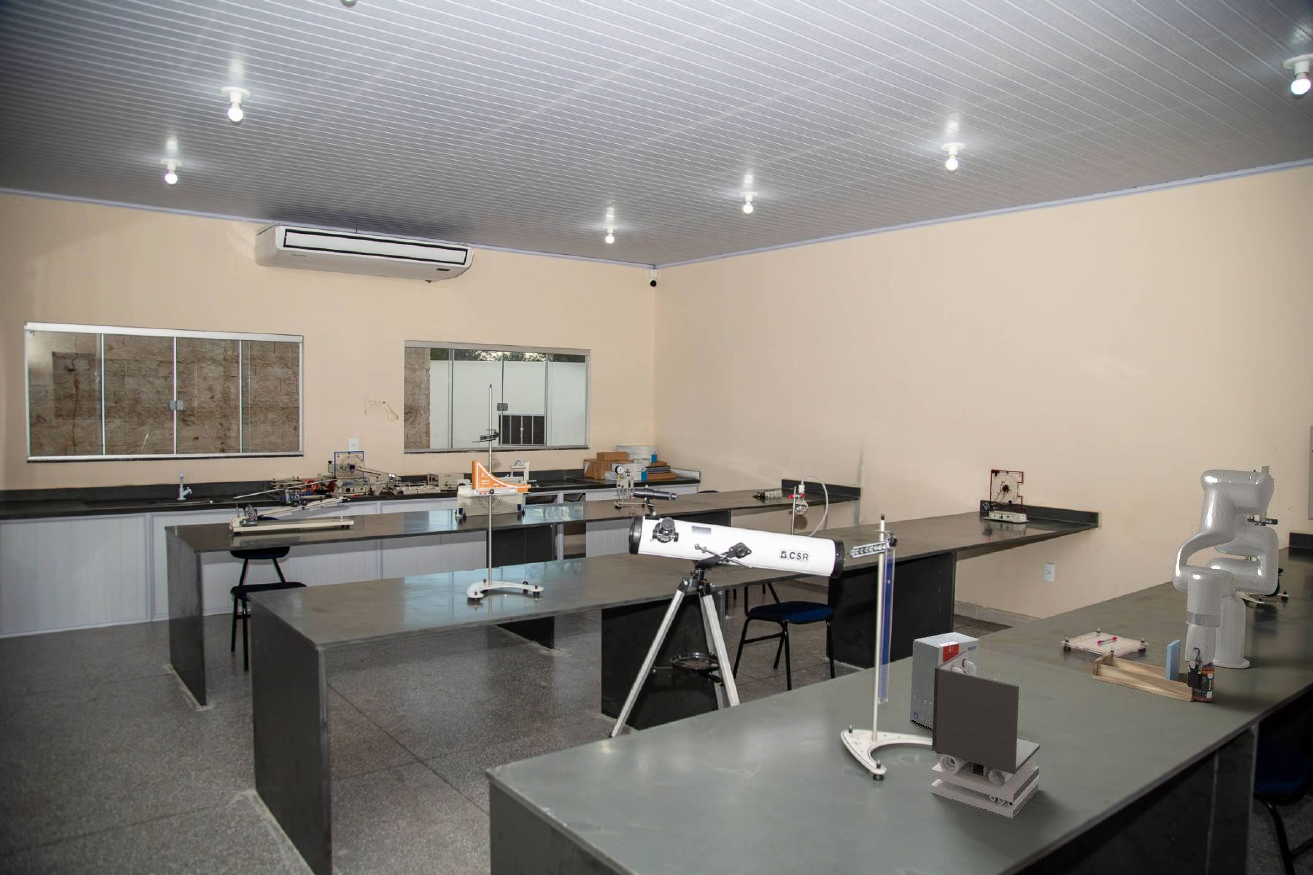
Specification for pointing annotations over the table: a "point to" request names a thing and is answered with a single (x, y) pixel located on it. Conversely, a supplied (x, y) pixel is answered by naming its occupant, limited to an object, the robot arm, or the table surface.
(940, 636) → the hard drive box
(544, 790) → the table surface
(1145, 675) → the lane tray
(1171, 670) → the pusher plate
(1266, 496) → the robot arm
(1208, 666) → the supplement bottle
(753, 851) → the table surface
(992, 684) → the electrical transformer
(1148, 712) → the table surface
